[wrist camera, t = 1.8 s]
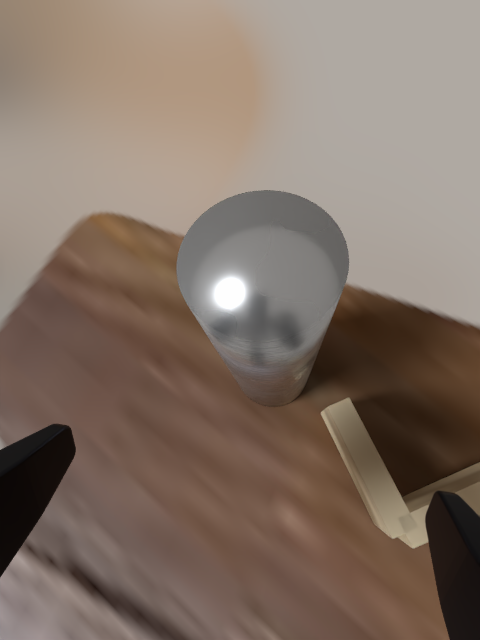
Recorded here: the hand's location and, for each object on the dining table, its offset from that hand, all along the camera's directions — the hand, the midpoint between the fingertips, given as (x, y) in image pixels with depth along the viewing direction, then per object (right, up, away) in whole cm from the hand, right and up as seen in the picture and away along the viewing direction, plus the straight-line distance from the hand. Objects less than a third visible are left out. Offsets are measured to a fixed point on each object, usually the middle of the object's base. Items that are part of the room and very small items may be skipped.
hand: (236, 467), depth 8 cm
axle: (+2, 0, +12) cm, 13 cm away
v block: (+8, -5, +10) cm, 14 cm away
